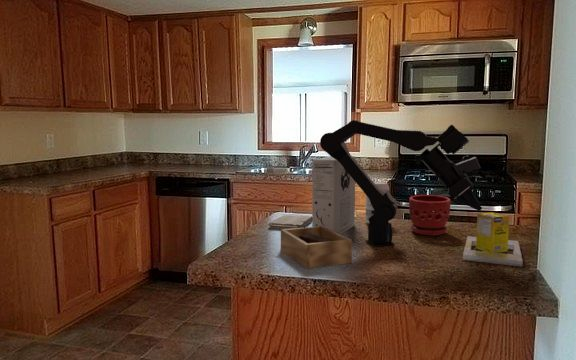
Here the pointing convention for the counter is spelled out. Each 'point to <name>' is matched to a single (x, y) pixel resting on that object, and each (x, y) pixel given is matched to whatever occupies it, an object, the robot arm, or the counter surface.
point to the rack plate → (493, 254)
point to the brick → (313, 238)
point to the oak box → (316, 247)
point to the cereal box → (332, 196)
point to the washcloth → (290, 222)
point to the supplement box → (492, 232)
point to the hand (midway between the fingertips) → (479, 206)
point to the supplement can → (369, 209)
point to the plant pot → (429, 214)
